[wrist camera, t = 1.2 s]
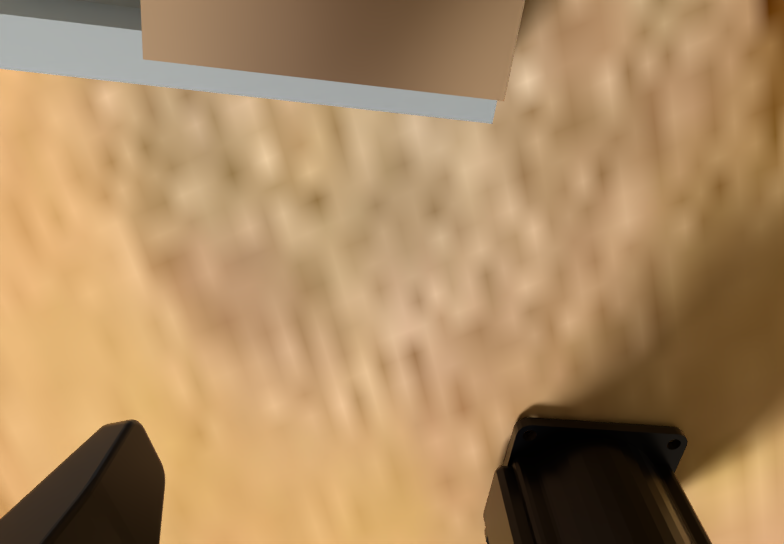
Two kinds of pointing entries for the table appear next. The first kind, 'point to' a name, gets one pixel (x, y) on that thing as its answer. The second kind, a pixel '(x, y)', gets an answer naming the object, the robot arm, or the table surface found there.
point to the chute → (126, 64)
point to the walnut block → (344, 40)
